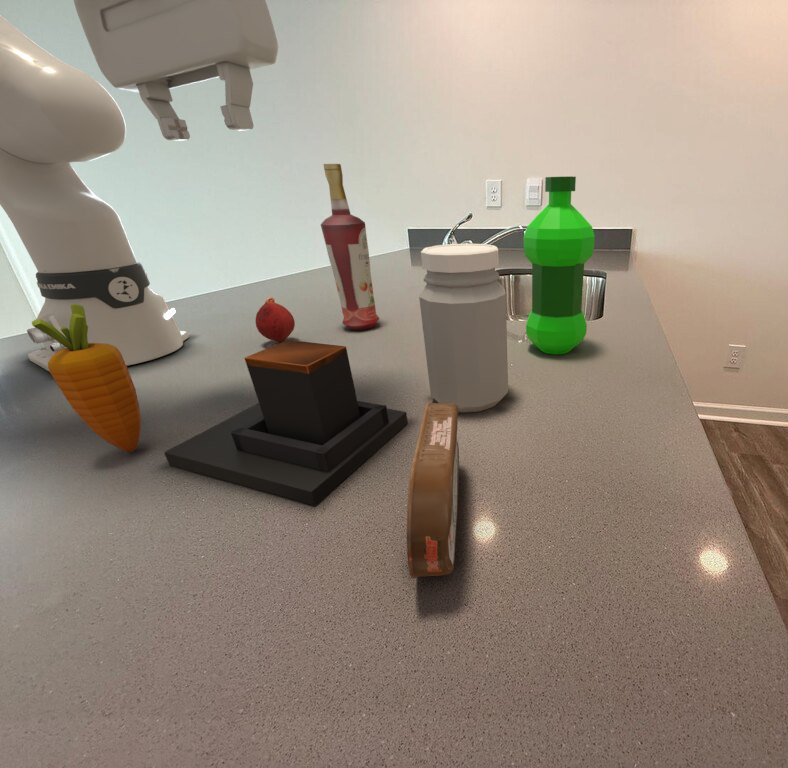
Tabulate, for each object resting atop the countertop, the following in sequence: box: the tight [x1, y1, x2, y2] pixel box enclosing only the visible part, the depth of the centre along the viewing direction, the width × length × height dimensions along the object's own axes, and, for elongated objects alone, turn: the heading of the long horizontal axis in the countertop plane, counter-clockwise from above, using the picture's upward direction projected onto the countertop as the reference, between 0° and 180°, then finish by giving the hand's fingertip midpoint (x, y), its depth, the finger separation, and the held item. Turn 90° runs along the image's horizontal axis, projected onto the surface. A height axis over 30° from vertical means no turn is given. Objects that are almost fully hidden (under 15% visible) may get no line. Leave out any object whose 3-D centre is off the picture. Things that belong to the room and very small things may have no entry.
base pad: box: [163, 400, 409, 506], centre depth 42 cm, size 18×14×4 cm
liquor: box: [320, 163, 380, 331], centre depth 73 cm, size 7×7×28 cm
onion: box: [255, 296, 296, 344], centre depth 70 cm, size 6×6×8 cm
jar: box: [418, 243, 509, 414], centre depth 47 cm, size 10×10×18 cm
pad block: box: [244, 339, 361, 446], centre depth 39 cm, size 7×5×9 cm
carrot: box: [31, 304, 142, 453], centre depth 39 cm, size 5×5×15 cm
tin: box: [406, 401, 460, 579], centre depth 30 cm, size 15×3×8 cm, turn 5°
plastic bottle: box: [523, 176, 596, 355], centre depth 61 cm, size 10×10×25 cm
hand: (208, 135), depth 40 cm, fingers open, 8 cm apart
